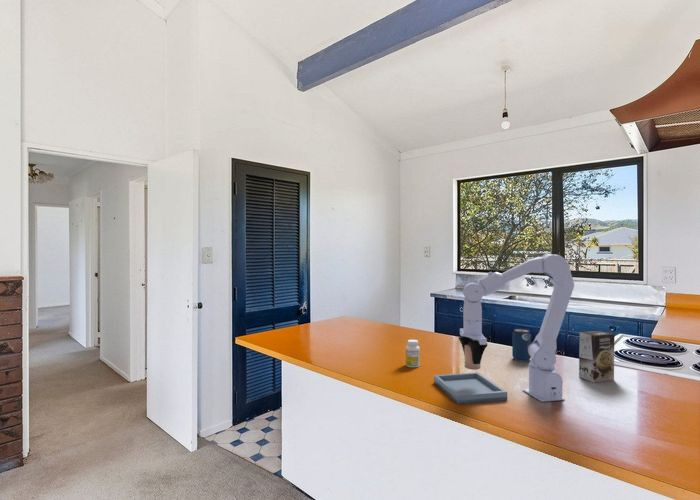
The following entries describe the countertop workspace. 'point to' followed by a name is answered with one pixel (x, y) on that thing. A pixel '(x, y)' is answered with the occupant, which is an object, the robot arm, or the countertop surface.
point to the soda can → (521, 344)
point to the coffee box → (596, 356)
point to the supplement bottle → (412, 354)
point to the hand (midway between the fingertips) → (472, 361)
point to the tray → (470, 388)
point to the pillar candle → (470, 359)
